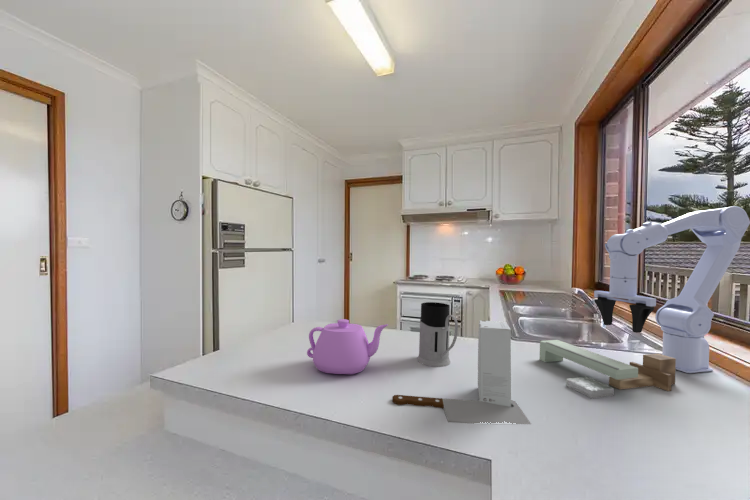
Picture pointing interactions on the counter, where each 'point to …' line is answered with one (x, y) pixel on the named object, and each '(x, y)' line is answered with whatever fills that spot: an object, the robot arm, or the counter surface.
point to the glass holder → (435, 334)
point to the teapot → (343, 347)
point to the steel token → (590, 387)
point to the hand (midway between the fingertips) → (621, 328)
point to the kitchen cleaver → (468, 409)
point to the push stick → (650, 373)
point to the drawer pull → (585, 359)
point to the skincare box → (494, 362)
